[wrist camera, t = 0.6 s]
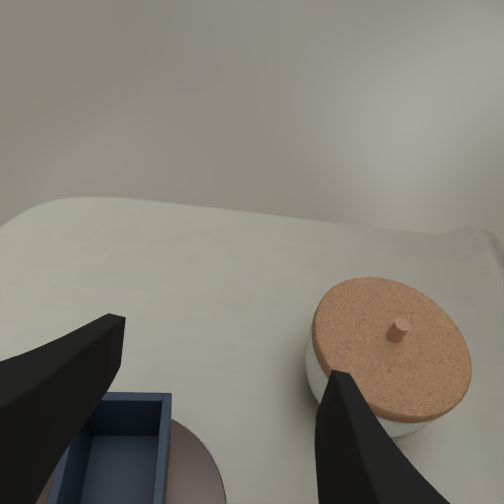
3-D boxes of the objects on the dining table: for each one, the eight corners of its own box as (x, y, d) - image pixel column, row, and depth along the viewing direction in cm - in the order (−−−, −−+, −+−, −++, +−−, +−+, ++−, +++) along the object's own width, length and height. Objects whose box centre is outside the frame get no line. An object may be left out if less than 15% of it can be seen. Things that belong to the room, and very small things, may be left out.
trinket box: (266, 407, 32) (293, 342, 25) (321, 311, 39) (354, 239, 32) (401, 491, 29) (472, 444, 22) (434, 372, 36) (496, 308, 29)
